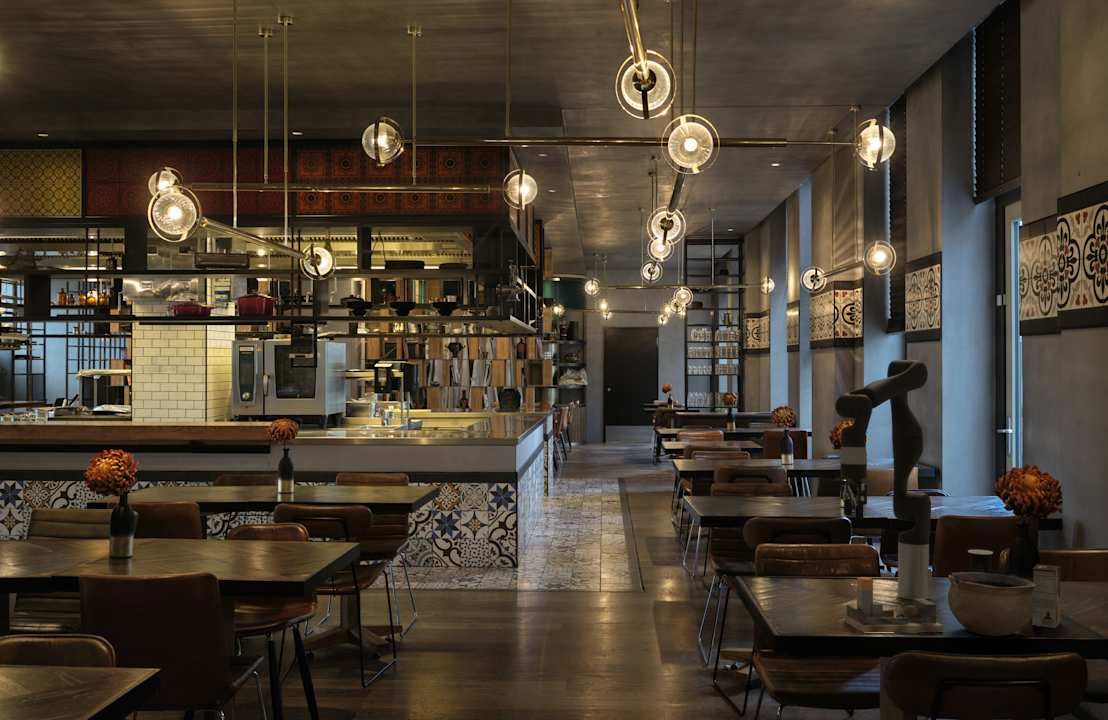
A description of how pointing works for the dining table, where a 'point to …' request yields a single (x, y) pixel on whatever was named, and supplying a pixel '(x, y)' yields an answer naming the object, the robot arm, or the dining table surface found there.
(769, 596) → the dining table surface
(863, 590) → the lever
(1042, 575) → the coffee box
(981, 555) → the dixie cup
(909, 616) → the walnut
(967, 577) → the ceramic bowl
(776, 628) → the dining table surface
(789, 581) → the dining table surface
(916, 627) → the base
